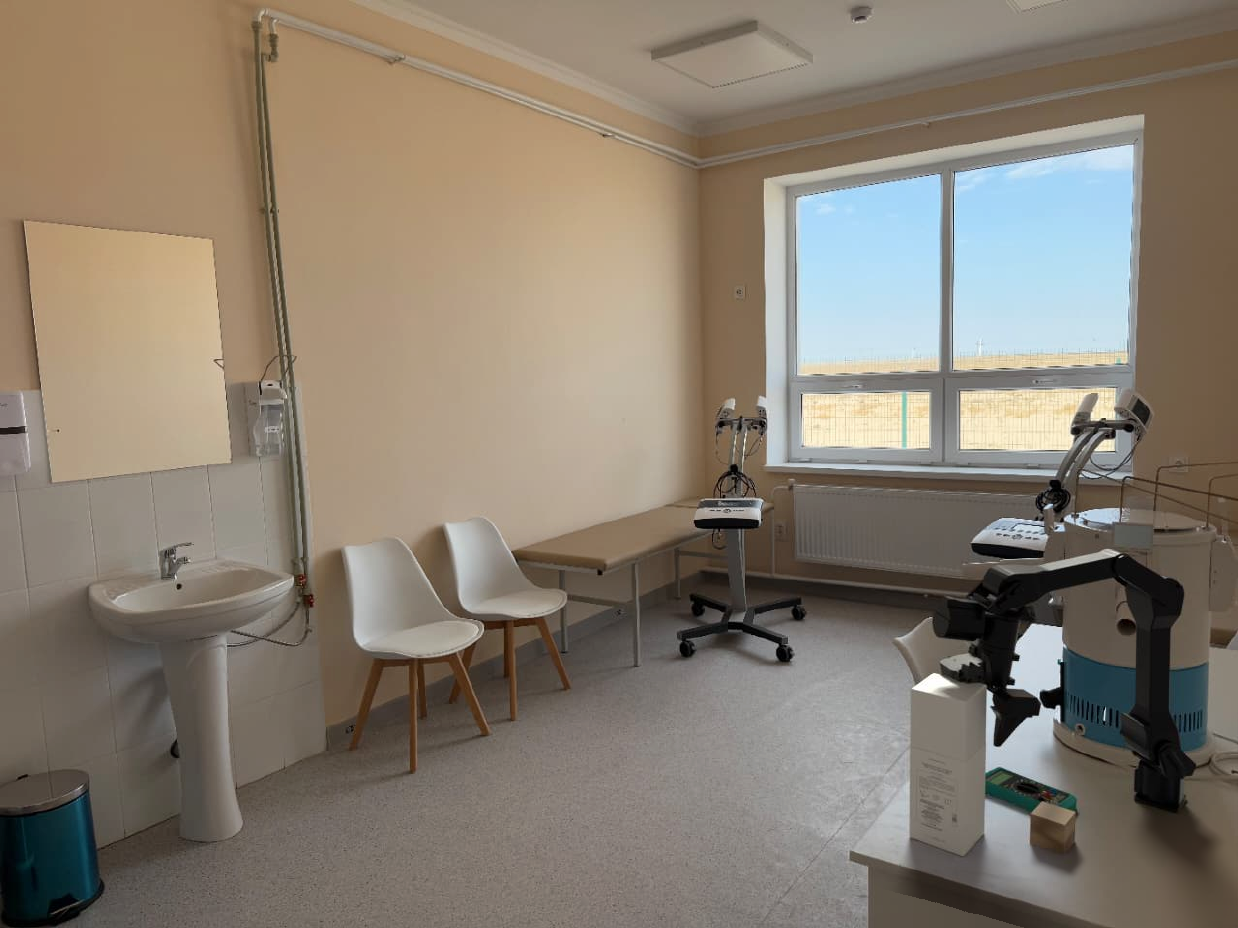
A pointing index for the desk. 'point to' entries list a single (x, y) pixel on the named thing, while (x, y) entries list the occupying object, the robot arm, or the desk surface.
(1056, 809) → the walnut cube
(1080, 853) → the desk surface
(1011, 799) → the digital multimeter
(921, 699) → the tall white carton
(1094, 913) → the desk surface
